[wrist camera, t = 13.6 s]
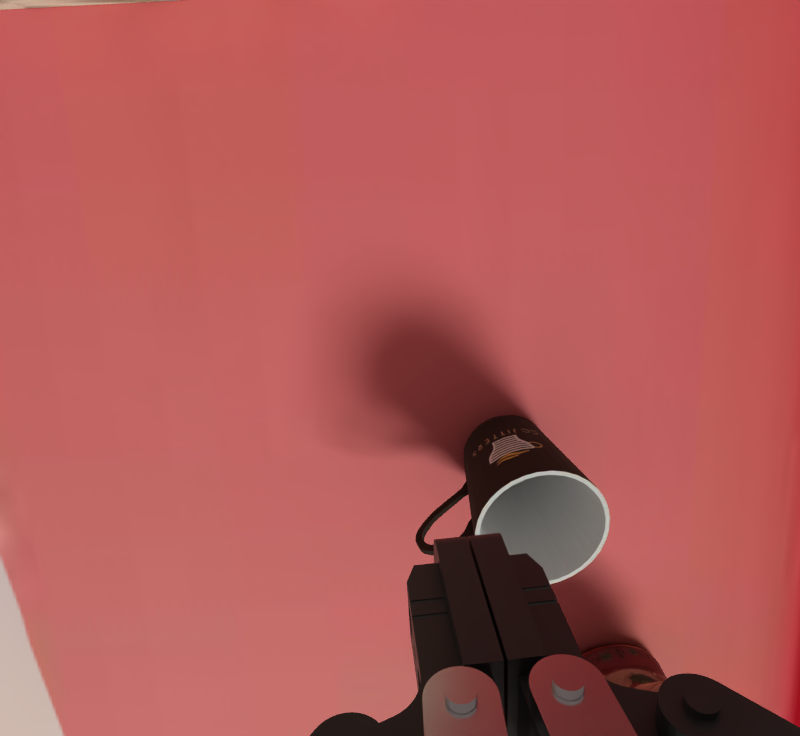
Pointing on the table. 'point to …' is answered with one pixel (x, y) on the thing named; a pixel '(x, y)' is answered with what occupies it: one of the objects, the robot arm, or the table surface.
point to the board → (61, 3)
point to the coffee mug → (528, 498)
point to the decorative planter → (627, 666)
